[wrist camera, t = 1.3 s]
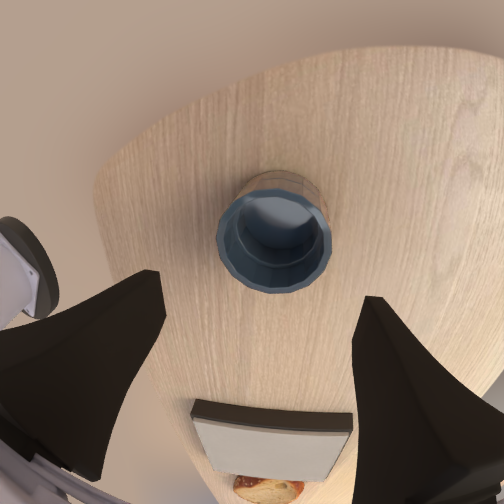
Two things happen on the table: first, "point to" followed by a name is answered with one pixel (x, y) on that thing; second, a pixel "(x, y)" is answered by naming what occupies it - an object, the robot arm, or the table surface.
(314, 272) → the cup
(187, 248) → the table surface
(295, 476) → the scale
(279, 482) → the slice of bread
